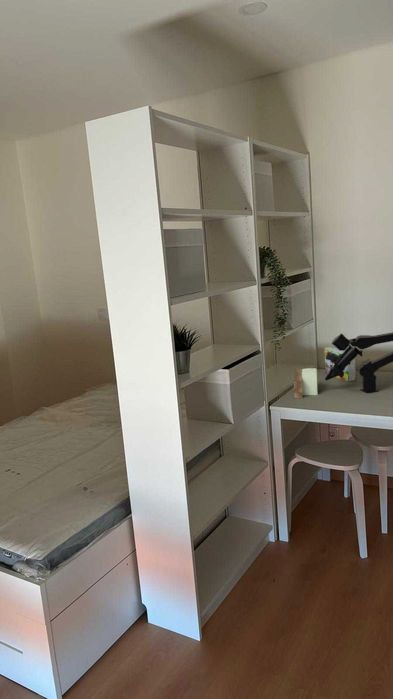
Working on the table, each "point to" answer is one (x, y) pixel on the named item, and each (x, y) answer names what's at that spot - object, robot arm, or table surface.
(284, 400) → the table surface
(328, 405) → the table surface
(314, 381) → the green block
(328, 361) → the snack box
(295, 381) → the backstop board
